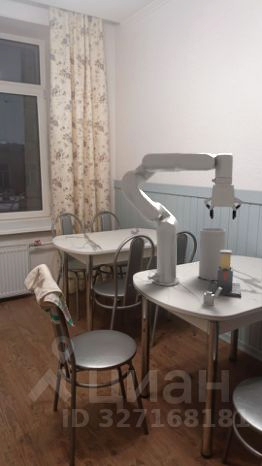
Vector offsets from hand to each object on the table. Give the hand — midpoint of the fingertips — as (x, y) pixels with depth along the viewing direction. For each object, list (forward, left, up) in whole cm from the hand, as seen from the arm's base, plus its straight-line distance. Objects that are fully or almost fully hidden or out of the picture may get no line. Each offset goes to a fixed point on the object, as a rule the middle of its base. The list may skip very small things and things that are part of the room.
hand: (222, 218), depth 155 cm
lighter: (-17, -18, -33) cm, 41 cm away
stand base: (-2, -6, -32) cm, 33 cm away
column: (-2, -6, -31) cm, 31 cm away
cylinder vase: (+4, +13, -33) cm, 35 cm away
